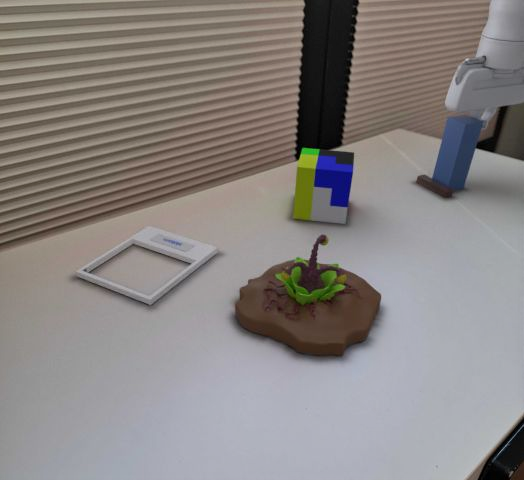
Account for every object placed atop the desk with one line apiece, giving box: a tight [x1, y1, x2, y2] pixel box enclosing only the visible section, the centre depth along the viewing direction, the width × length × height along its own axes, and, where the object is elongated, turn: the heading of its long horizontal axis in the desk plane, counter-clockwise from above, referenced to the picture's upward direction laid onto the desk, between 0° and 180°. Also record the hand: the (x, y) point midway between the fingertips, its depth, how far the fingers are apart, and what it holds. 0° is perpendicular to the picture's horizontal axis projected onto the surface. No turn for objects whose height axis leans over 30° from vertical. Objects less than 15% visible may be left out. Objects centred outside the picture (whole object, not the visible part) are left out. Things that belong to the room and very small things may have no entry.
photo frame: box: [75, 225, 219, 306], centre depth 83 cm, size 15×1×18 cm
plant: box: [234, 234, 382, 357], centre depth 72 cm, size 20×20×11 cm
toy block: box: [431, 114, 484, 192], centre depth 107 cm, size 5×5×14 cm
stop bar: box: [416, 174, 455, 199], centre depth 110 cm, size 2×9×2 cm, turn 29°
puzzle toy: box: [292, 147, 355, 225], centre depth 97 cm, size 10×10×10 cm
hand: (477, 129), depth 106 cm, fingers closed
